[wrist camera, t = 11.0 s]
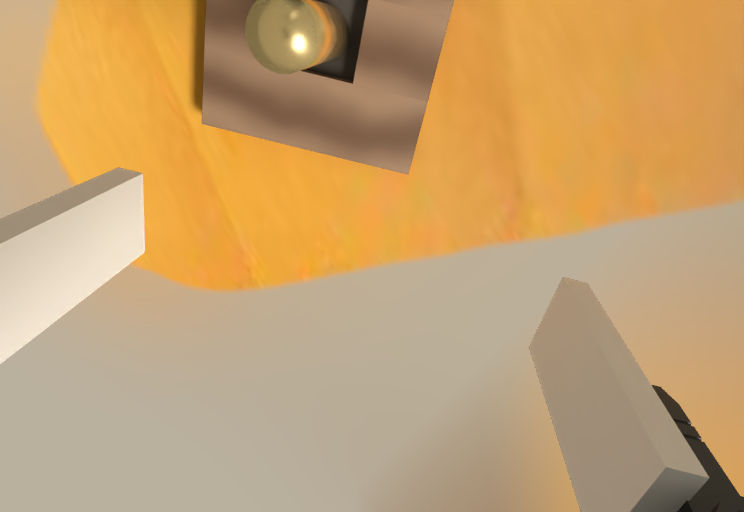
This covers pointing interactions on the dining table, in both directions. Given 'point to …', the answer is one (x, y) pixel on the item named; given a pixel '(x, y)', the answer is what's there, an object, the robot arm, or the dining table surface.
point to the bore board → (331, 82)
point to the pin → (295, 34)
